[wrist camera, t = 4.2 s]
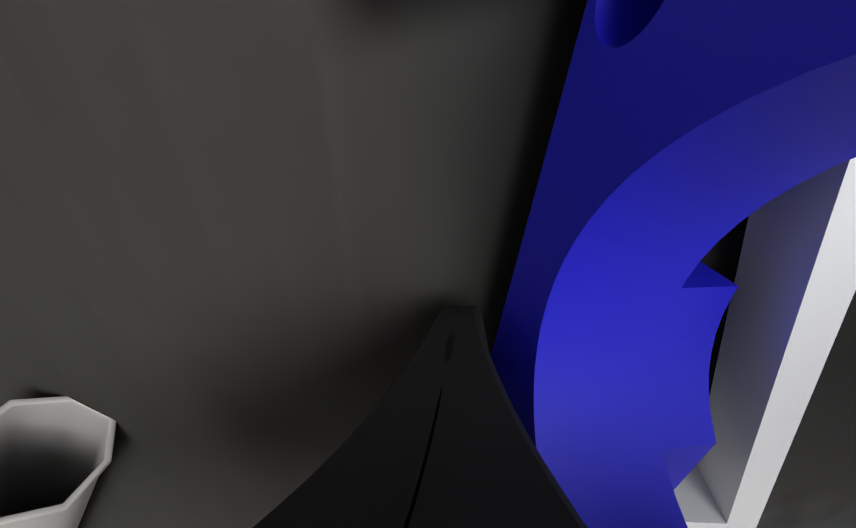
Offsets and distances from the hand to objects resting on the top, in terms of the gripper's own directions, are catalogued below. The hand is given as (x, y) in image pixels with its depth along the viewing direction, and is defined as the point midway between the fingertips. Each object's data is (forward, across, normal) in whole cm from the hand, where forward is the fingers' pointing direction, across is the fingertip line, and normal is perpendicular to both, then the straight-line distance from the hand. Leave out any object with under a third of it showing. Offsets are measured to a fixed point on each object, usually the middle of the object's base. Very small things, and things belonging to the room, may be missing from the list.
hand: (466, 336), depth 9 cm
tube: (+2, +29, +12) cm, 32 cm away
